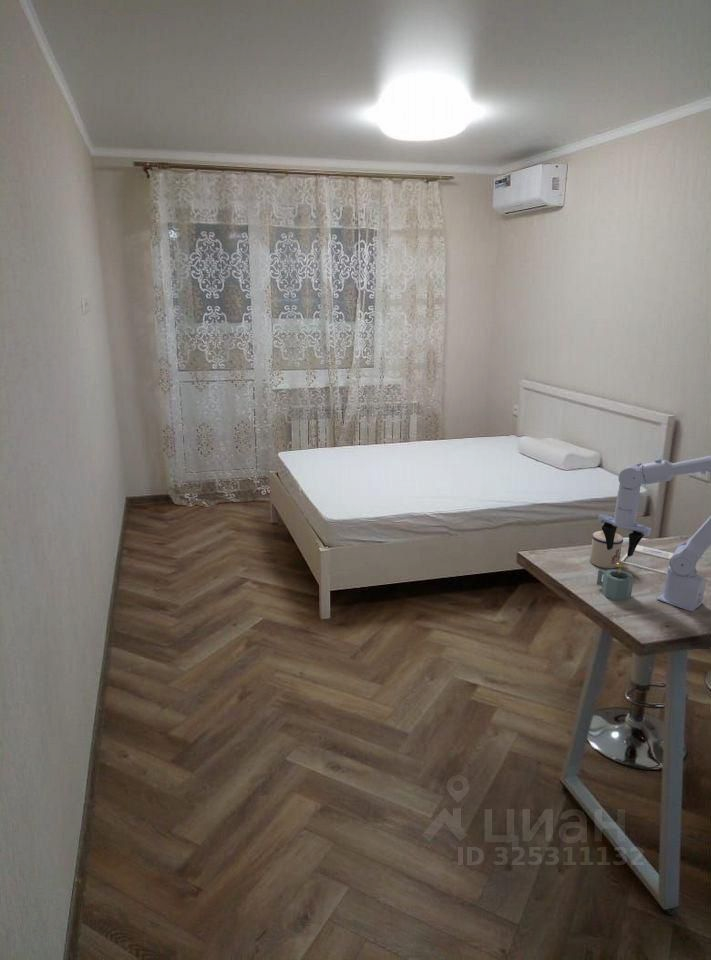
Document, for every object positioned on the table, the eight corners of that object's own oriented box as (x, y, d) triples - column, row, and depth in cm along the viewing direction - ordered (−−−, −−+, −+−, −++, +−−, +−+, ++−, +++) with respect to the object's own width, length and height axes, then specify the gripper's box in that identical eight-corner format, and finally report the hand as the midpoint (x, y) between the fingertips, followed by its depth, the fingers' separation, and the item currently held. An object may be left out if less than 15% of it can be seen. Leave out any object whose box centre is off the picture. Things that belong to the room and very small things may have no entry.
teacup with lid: (616, 571, 196) (622, 536, 192) (586, 564, 200) (590, 530, 197) (622, 558, 206) (628, 524, 202) (593, 552, 210) (598, 518, 207)
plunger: (627, 581, 180) (629, 563, 178) (621, 584, 177) (624, 567, 176) (614, 576, 182) (617, 559, 181) (608, 580, 180) (611, 562, 178)
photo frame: (681, 554, 208) (670, 573, 194) (680, 557, 208) (669, 576, 194) (634, 543, 216) (619, 560, 202) (633, 546, 216) (619, 563, 202)
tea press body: (634, 595, 181) (637, 575, 179) (622, 602, 176) (625, 583, 174) (602, 583, 187) (605, 565, 185) (590, 591, 182) (593, 571, 181)
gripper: (658, 511, 177) (651, 556, 181) (608, 498, 187) (602, 541, 191) (647, 516, 173) (640, 563, 177) (597, 503, 183) (590, 547, 187)
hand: (619, 552), depth 184 cm, fingers open, 5 cm apart
